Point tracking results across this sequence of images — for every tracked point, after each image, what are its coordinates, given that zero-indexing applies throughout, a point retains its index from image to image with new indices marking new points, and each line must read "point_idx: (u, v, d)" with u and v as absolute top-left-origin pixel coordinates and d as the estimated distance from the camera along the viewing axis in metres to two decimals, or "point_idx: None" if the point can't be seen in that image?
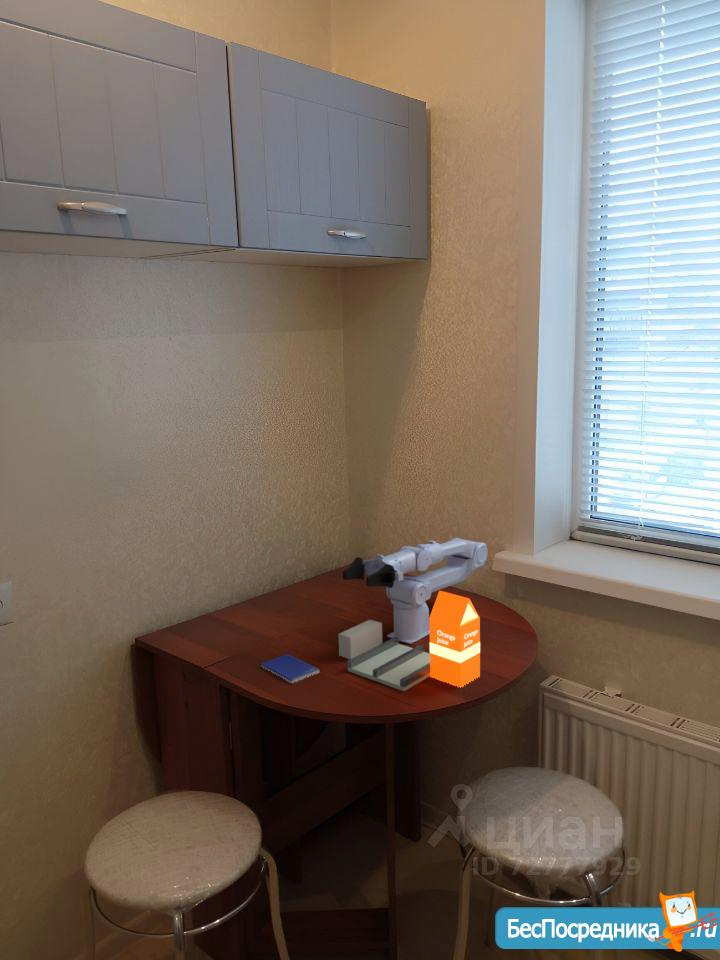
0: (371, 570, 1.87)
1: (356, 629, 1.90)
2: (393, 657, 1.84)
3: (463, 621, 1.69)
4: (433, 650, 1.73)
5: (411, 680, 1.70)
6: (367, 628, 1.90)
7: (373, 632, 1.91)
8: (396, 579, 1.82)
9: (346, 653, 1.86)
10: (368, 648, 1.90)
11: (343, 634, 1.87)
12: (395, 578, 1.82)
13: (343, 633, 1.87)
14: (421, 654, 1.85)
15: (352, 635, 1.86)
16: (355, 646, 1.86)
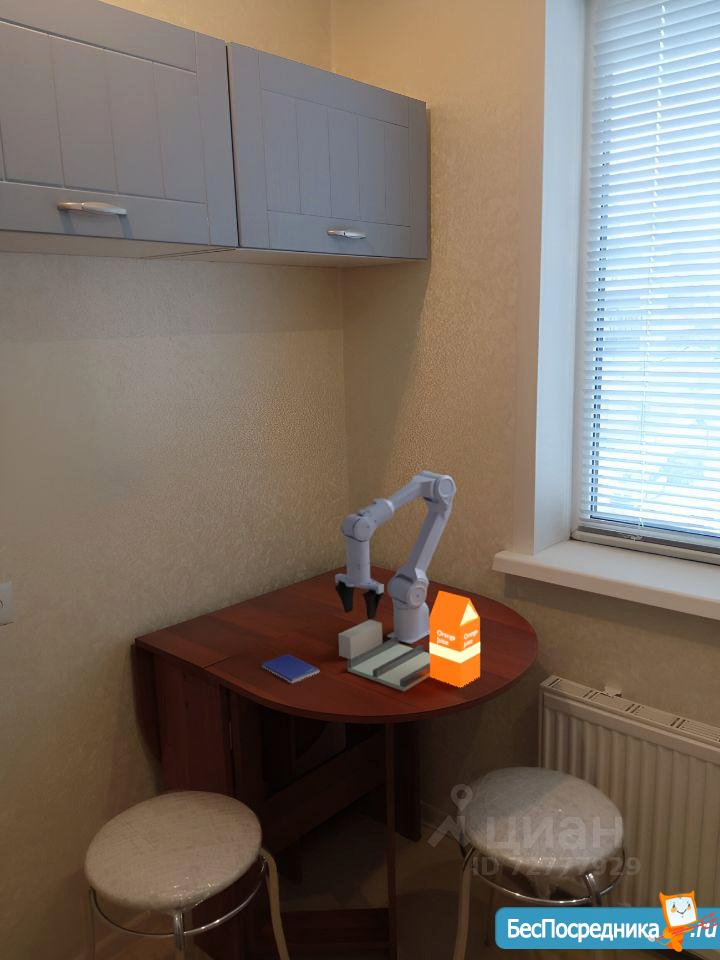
0: None
1: (356, 629, 1.90)
2: (393, 657, 1.84)
3: (463, 621, 1.69)
4: (433, 650, 1.73)
5: (411, 680, 1.70)
6: (367, 628, 1.90)
7: (373, 632, 1.91)
8: None
9: (346, 653, 1.86)
10: (368, 648, 1.90)
11: (343, 634, 1.87)
12: None
13: (343, 633, 1.87)
14: (421, 654, 1.85)
15: (352, 635, 1.86)
16: (355, 646, 1.86)
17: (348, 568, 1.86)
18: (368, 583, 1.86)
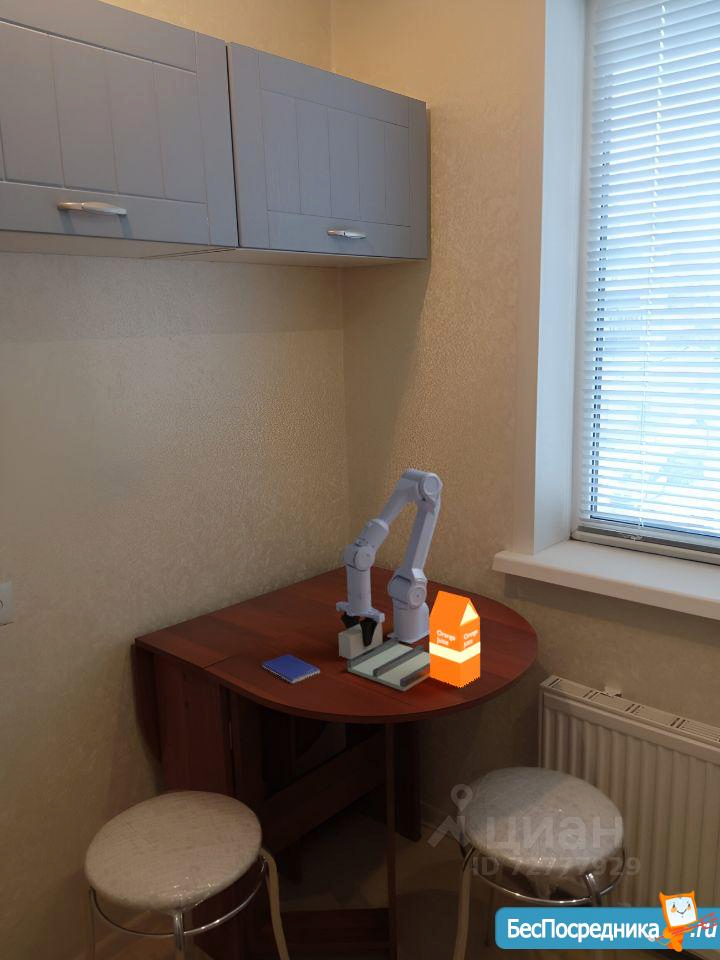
0: None
1: (356, 628, 1.90)
2: (393, 657, 1.84)
3: (463, 621, 1.69)
4: (433, 650, 1.73)
5: (411, 680, 1.70)
6: None
7: None
8: None
9: (346, 653, 1.86)
10: (368, 647, 1.90)
11: (343, 633, 1.87)
12: None
13: (343, 632, 1.87)
14: (421, 654, 1.85)
15: (352, 634, 1.86)
16: (355, 646, 1.86)
17: (349, 597, 1.87)
18: (369, 612, 1.87)
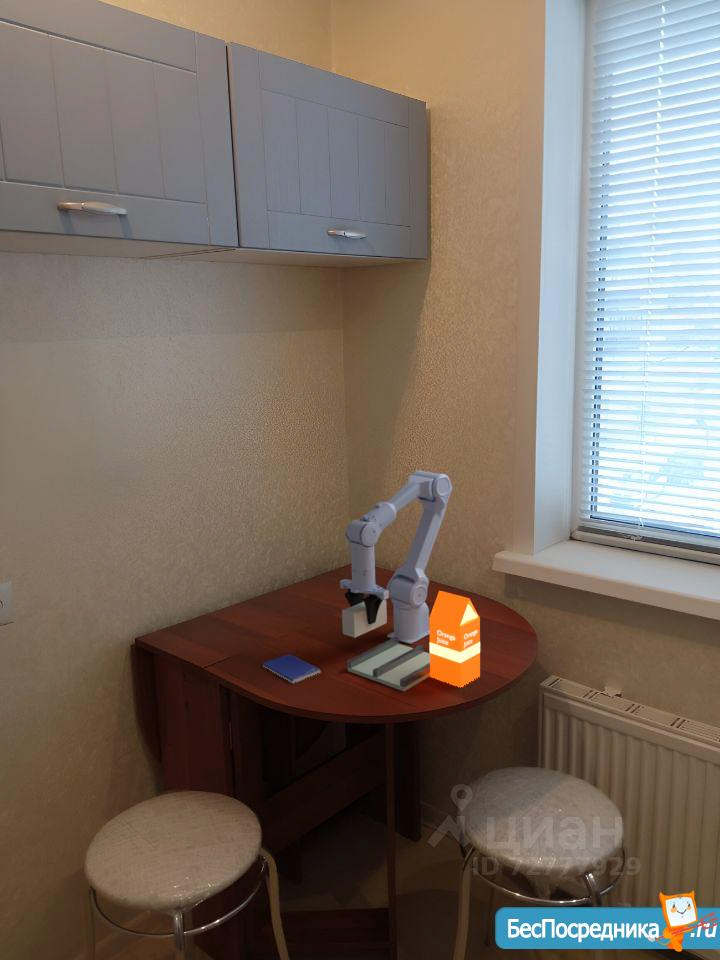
0: None
1: (360, 606, 1.87)
2: (393, 657, 1.84)
3: (463, 621, 1.69)
4: (433, 650, 1.73)
5: (411, 680, 1.70)
6: None
7: None
8: None
9: (349, 630, 1.84)
10: (372, 625, 1.87)
11: (347, 611, 1.84)
12: None
13: (347, 610, 1.85)
14: (421, 654, 1.85)
15: (356, 612, 1.83)
16: (359, 623, 1.84)
17: (353, 574, 1.84)
18: (373, 589, 1.84)
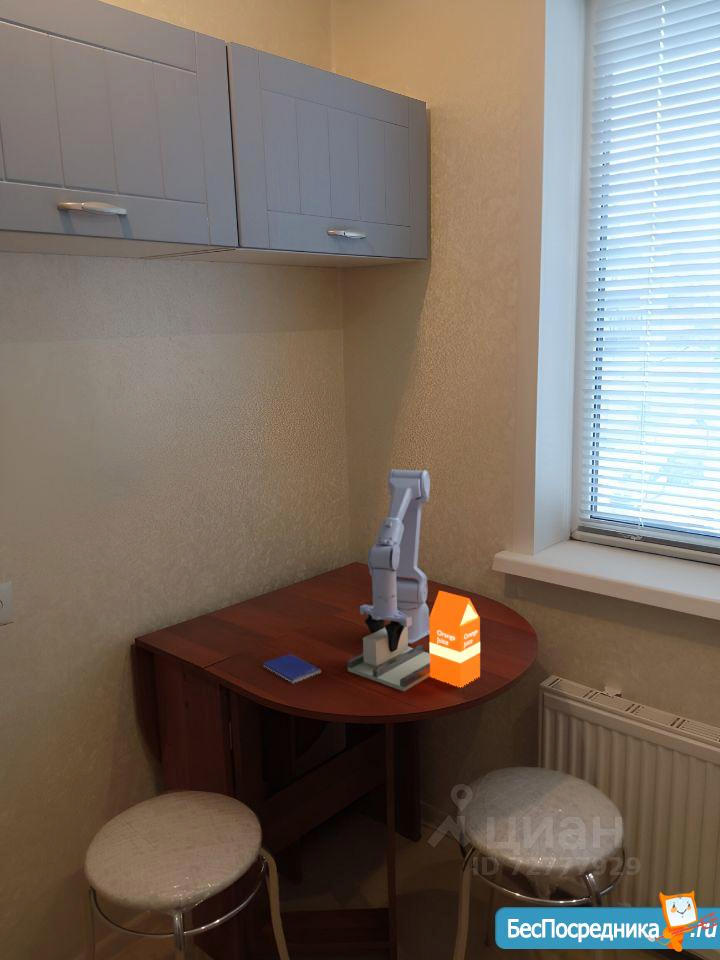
0: None
1: (382, 633, 1.81)
2: (393, 657, 1.84)
3: (463, 621, 1.69)
4: (433, 650, 1.73)
5: (411, 680, 1.70)
6: None
7: None
8: None
9: (371, 658, 1.78)
10: (394, 653, 1.82)
11: (368, 638, 1.78)
12: None
13: (368, 637, 1.79)
14: (421, 654, 1.85)
15: (377, 639, 1.78)
16: (380, 651, 1.78)
17: (374, 600, 1.79)
18: (395, 616, 1.79)
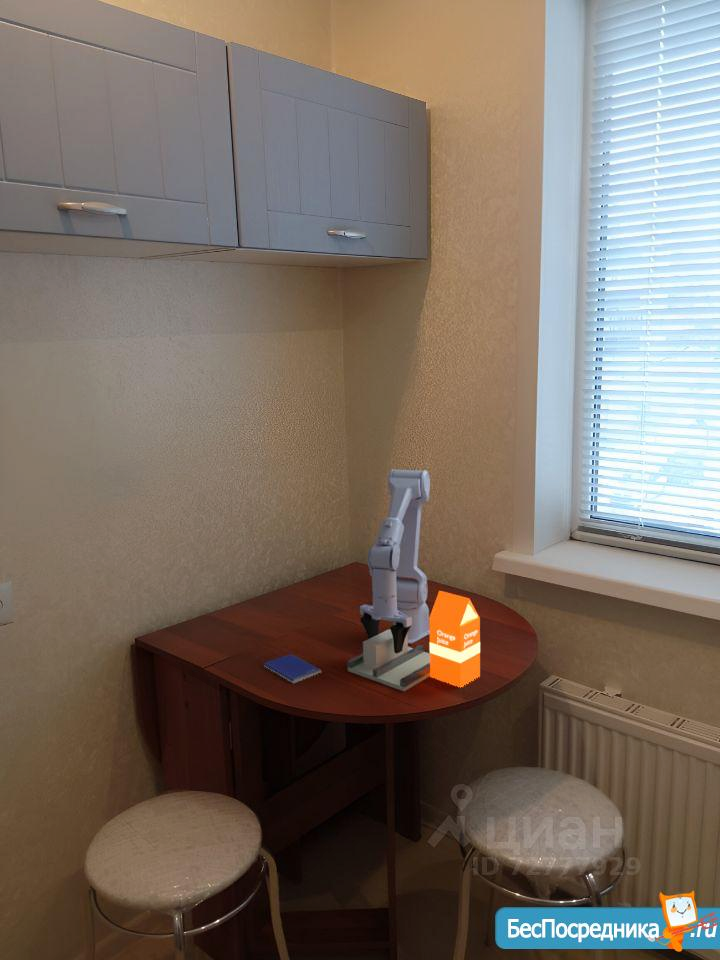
0: None
1: (381, 636, 1.81)
2: None
3: (463, 621, 1.69)
4: (433, 650, 1.73)
5: (411, 680, 1.70)
6: None
7: None
8: None
9: (371, 662, 1.78)
10: (393, 656, 1.82)
11: (368, 642, 1.79)
12: None
13: (368, 641, 1.79)
14: (421, 654, 1.85)
15: (377, 643, 1.78)
16: (380, 655, 1.78)
17: (374, 600, 1.79)
18: (395, 616, 1.79)
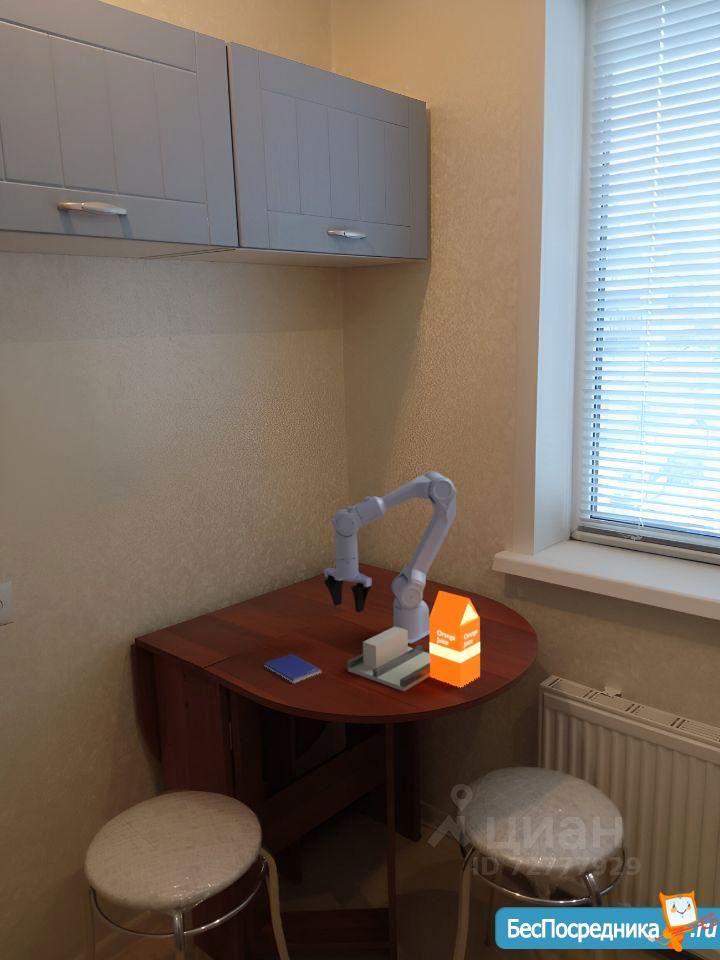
0: None
1: (381, 636, 1.81)
2: None
3: (463, 621, 1.69)
4: (433, 650, 1.73)
5: (411, 680, 1.70)
6: (393, 635, 1.82)
7: (398, 639, 1.83)
8: None
9: (371, 662, 1.78)
10: (393, 656, 1.82)
11: (368, 642, 1.79)
12: None
13: (368, 641, 1.79)
14: (421, 654, 1.85)
15: (377, 643, 1.78)
16: (380, 655, 1.78)
17: (337, 562, 1.91)
18: (356, 577, 1.91)
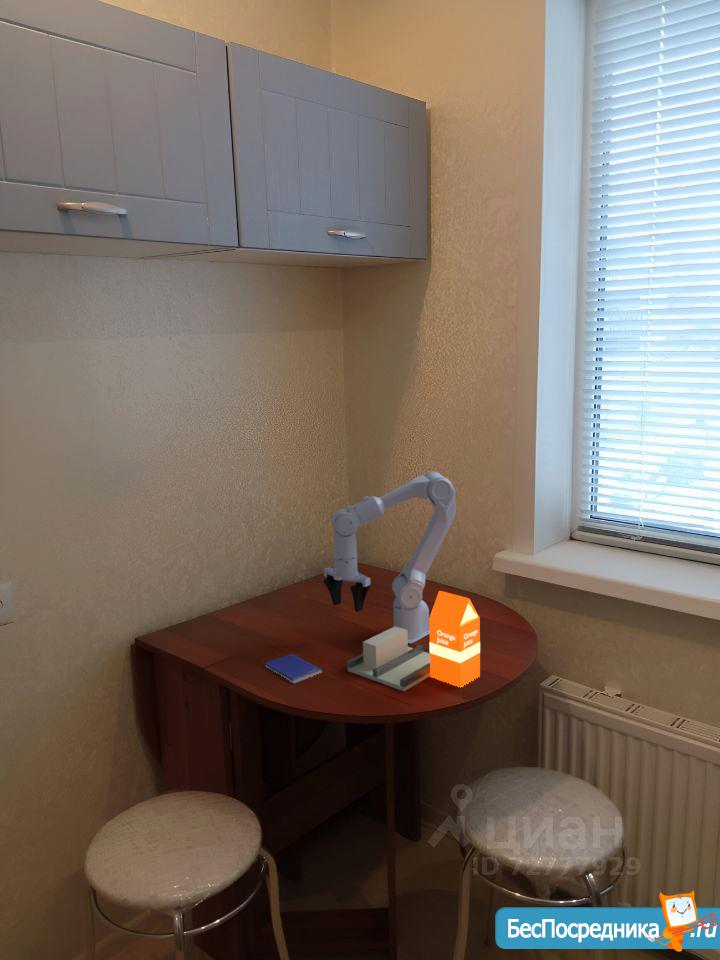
0: None
1: (381, 636, 1.81)
2: None
3: (463, 621, 1.69)
4: (433, 650, 1.73)
5: (411, 680, 1.70)
6: (393, 635, 1.82)
7: (398, 639, 1.83)
8: None
9: (371, 662, 1.78)
10: (393, 656, 1.82)
11: (368, 642, 1.79)
12: None
13: (368, 641, 1.79)
14: (421, 654, 1.85)
15: (377, 643, 1.78)
16: (380, 655, 1.78)
17: (336, 562, 1.91)
18: (355, 576, 1.91)
